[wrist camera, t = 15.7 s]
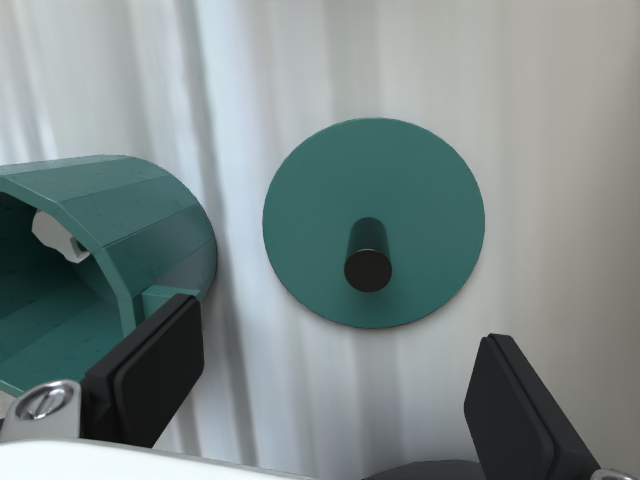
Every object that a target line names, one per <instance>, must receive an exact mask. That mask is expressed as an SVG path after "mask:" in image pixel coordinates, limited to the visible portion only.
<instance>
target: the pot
mask: <svg viewBox="0 0 640 480" xmlns="http://www.w3.org/2000/svg"><path fill="white" fill-rule="evenodd" d="M37 209H39V210H41V211H43V212H45V213H47V214H49V215H51V216H52V217H53V218H54V219H56V220H57V221H58V222H59V223H60V224H61V225H62V226H63V227H64V228H65V229H66V230H67V231H68V232H69V233H70V234H71V235H72V236H73V237H74V238H76V239H77V240H78V241H77V240H76V242H77V245H78V247H79V249H80V250H81V251H82V252H85V251H89V252H90V255H89V256H88V257H86V258H85V259H84V260H82V261H81V262H79V263H76V262H71V261H69V260H67V259H66V258H65V256H64V255H63V254H62V253H61V252H59V251H58V250H56V249H54V248H51V247H48V246H45V245H44V244H43V243H42V242H41V241H40V240H39V239H38V238H37V237H36V235H35V234H34V233H33V232H32V225H33V219H34V217H35V214H36V211H37ZM216 265H217V248H216V241H215V237H214V233H213V229H212V227H211V224H210V222H209V219H208V217H207V215H206V213H205V211H204V210H203V208H202V206H201V205H200V203H199V202H198V200H197V199H196V198H195V196H194V195H193V194H192V193H191V192H190V191H189V189H188V188H187V187H186V186H185V185H184V184H182V183H181V182H180V181H179V180H178V179H177V178H176V177H174V176H173V175H172V174H170V173H169V172H167V171H166V170H164V169H162V168H161V167H159V166H157V165H155V164H153V163H150V162H148V161H146V160H142V159H139V158H135V157H130V156H123V155H94V156H85V157H76V158H67V159H58V160H49V161H40V162H31V163H22V164H13V165H4V166H0V390H1V391H3V392H5V393H7V394H9V395H12V396H14V397H16V398H18V397H19V396H20V395H22V394H23V393H25V392H26V391H27V390H29V389H31V388H33V387H35V386H37V385H40V384H43V383H46V382H48V381H53V380H58V379H70V380H74V381H76V382H77V383H79V382H80V381H81V380H82V379H83V378H84V377H85V372H86V371H87V370H89V369H90V368H91V367H92V366H93V365H94V364H96V363H97V362H98V361H99V360H100V359H101V358H102V357H104V356H105V355H106V354H107V353H108V352H109V351H110V350H112V349H113V348H114V347H115V346H116V345H117V344H118V343H120V342H121V341H122V340H123V339H124V338H125V337H127V336H128V335H129V334H130V333H131V332H132V331H133V330H135V329H136V328H137V327H138V326H139V325H140V324H141V323H143V322H144V321H145V320H146V319H147V318H148V317H150V316H151V315H152V314H153V313H154V312H155V311H156V310H158V309H159V308H160V307H161V306H162V305H163V304H164V303H166V302H167V301H168V300H169V299H170V298H171V297H172V296H174V295H175V294H176V293H183V294H190V295H194V296H195V297H196V300H199V301H200V305H201V320H202V331H203V329H204V327H203V314H202V300H203V299H204V298H205V295H206V293H207V292H208V290H209V288H210V286H211V284H212V282H213V279H214V276H215V272H216Z"/></svg>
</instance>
